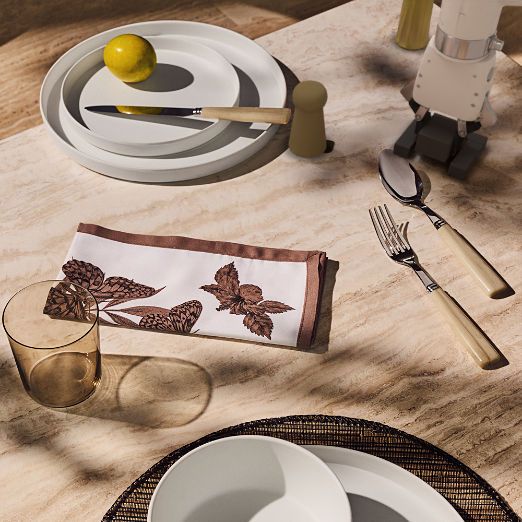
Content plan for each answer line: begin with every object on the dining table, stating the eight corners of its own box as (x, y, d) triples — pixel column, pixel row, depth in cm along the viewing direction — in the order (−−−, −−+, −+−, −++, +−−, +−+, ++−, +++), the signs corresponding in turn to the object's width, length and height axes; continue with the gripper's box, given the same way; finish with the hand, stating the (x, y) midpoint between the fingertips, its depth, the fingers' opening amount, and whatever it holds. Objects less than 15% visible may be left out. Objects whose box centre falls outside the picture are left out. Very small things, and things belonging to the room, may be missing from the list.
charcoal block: (460, 141, 105) (465, 123, 103) (444, 163, 102) (449, 144, 100) (430, 130, 107) (434, 112, 105) (414, 151, 104) (418, 133, 101)
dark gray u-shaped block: (485, 147, 107) (488, 137, 105) (462, 180, 102) (465, 170, 100) (417, 122, 111) (419, 112, 110) (392, 153, 106) (394, 143, 105)
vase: (409, 28, 130) (421, -46, 119) (434, 41, 127) (450, -34, 116) (388, 40, 127) (398, -34, 116) (414, 54, 124) (427, -22, 113)
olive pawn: (309, 162, 105) (313, 104, 97) (280, 146, 108) (281, 87, 99) (334, 144, 108) (339, 85, 99) (305, 127, 111) (307, 69, 102)
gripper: (535, 44, 90) (499, 151, 103) (417, 8, 96) (398, 113, 110) (515, 71, 86) (481, 179, 99) (393, 32, 92) (377, 138, 106)
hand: (438, 143), depth 104 cm, fingers closed on charcoal block, 4 cm apart
